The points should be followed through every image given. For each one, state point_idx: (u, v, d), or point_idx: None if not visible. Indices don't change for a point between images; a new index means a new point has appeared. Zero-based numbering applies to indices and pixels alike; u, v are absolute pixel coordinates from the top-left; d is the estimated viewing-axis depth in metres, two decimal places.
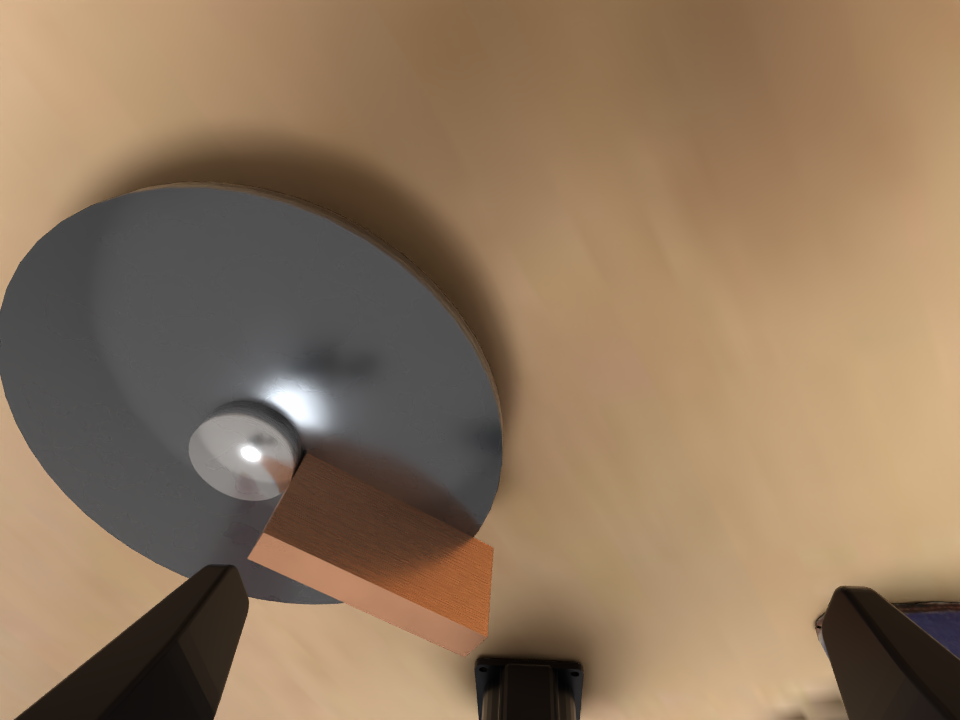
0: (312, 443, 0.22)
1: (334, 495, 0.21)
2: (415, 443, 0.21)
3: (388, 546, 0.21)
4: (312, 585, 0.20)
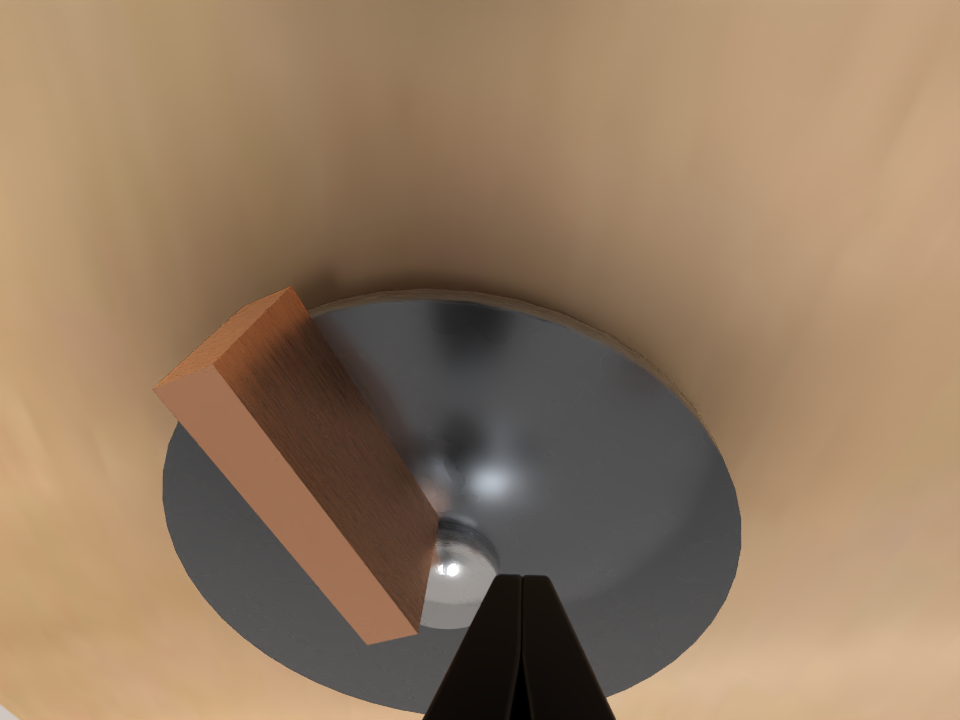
0: None
1: None
2: None
3: None
4: (373, 571, 0.14)
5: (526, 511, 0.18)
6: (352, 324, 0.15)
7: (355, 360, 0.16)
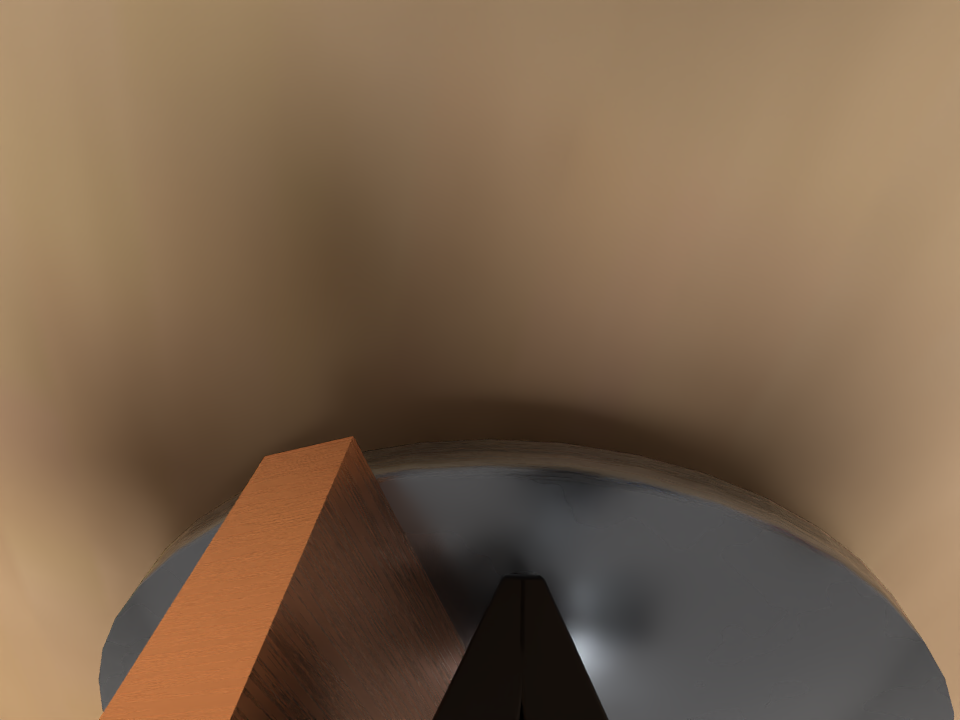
0: None
1: None
2: None
3: None
4: None
5: None
6: (444, 499, 0.09)
7: (437, 546, 0.10)
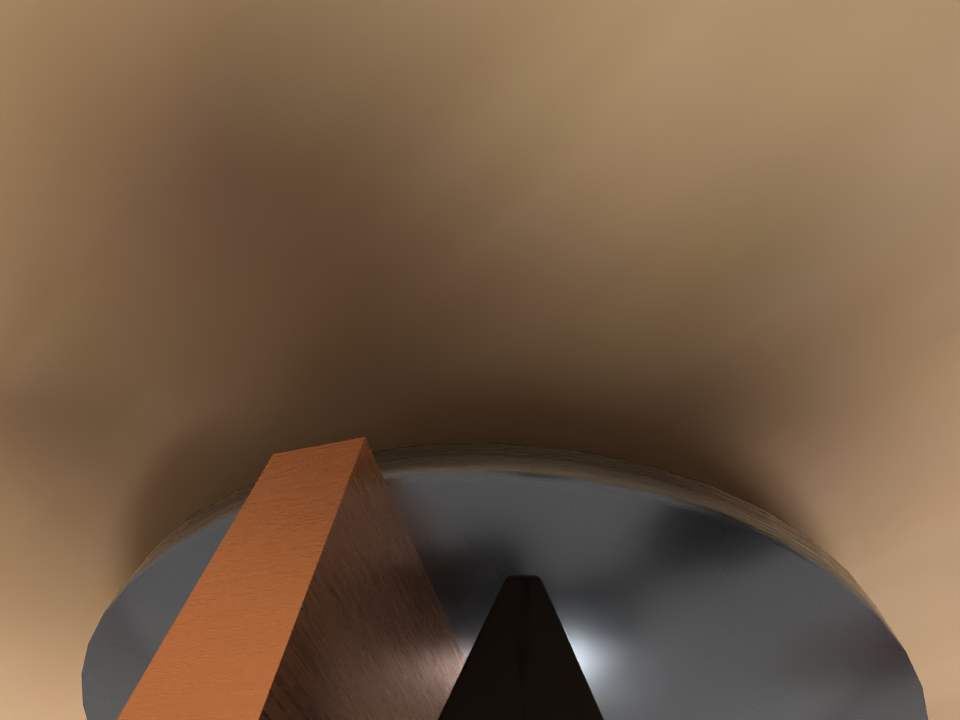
0: None
1: None
2: None
3: None
4: None
5: None
6: (452, 502, 0.09)
7: (441, 548, 0.10)
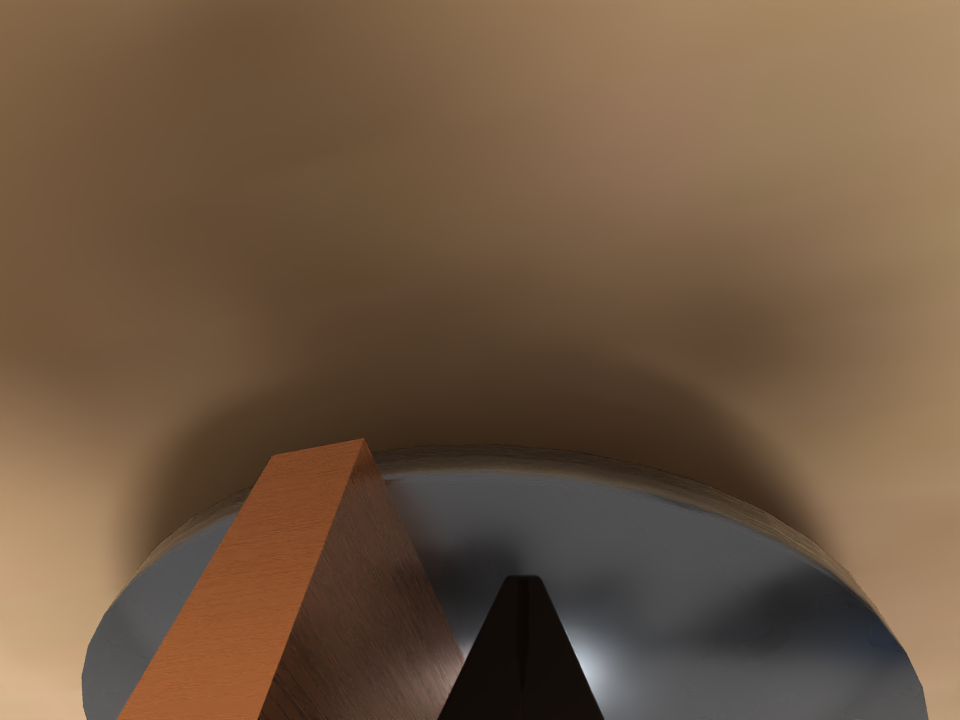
0: None
1: None
2: None
3: None
4: None
5: None
6: (451, 503, 0.09)
7: (440, 549, 0.10)
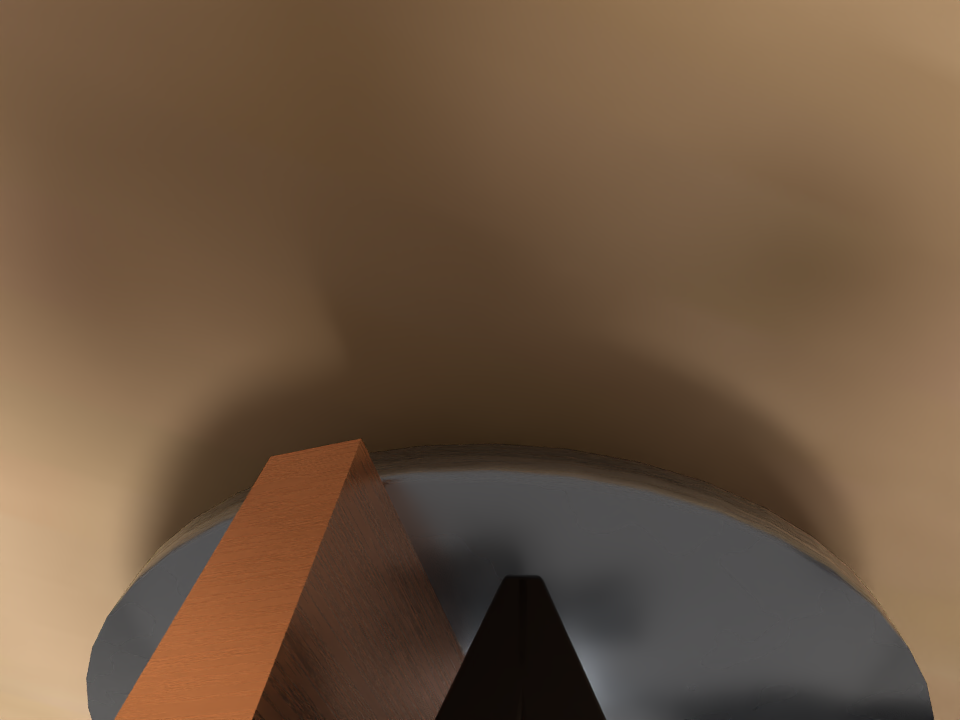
0: None
1: None
2: None
3: None
4: None
5: None
6: (449, 502, 0.09)
7: (439, 548, 0.10)
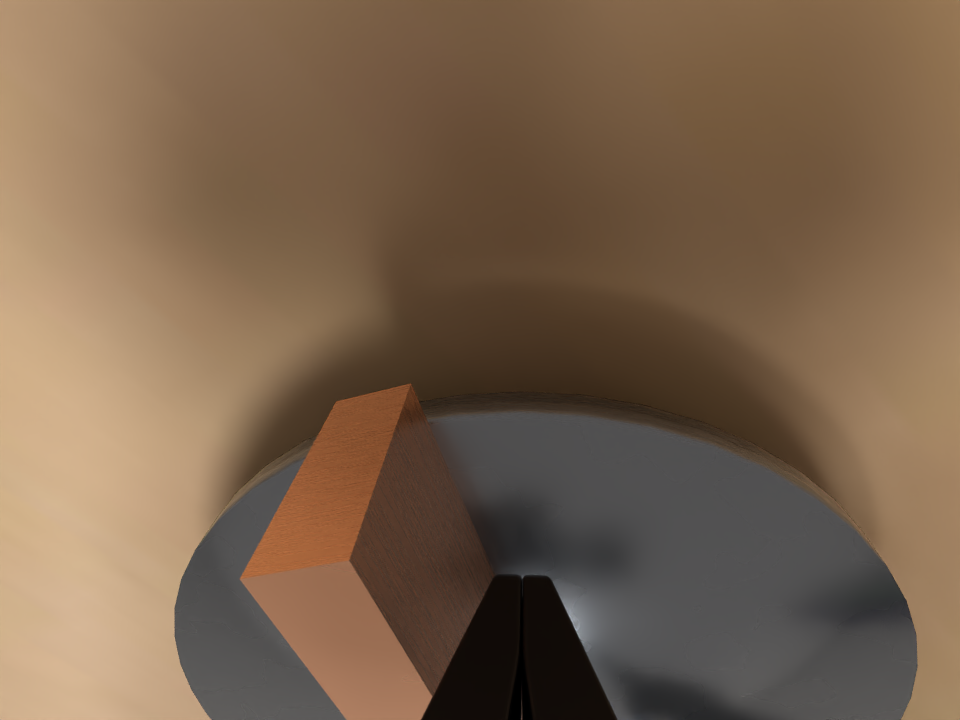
0: None
1: None
2: None
3: None
4: None
5: (646, 665, 0.14)
6: (483, 438, 0.11)
7: (475, 481, 0.12)
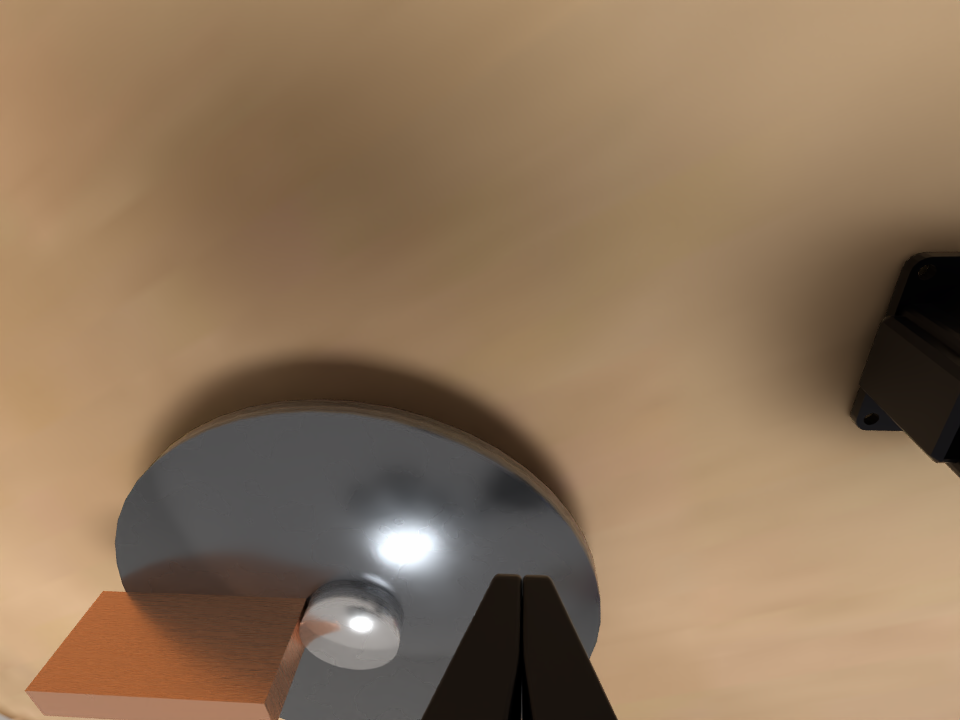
0: None
1: None
2: None
3: None
4: (197, 696, 0.19)
5: (309, 550, 0.21)
6: (130, 577, 0.23)
7: (158, 586, 0.23)
